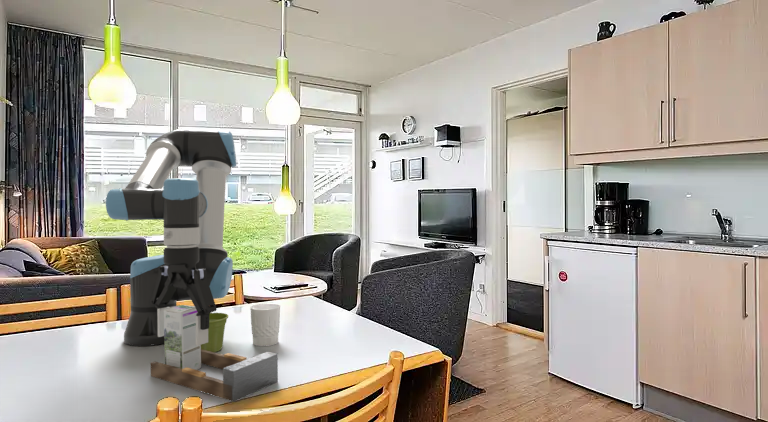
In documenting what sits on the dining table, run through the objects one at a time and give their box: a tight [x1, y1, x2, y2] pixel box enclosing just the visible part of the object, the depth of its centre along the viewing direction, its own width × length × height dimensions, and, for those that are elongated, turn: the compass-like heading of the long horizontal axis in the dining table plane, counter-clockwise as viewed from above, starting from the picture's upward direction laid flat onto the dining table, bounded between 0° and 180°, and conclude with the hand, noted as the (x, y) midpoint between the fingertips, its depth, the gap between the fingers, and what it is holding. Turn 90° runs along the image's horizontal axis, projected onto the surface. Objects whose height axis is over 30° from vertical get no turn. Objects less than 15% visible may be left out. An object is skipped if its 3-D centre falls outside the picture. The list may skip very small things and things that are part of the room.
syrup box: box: [164, 304, 202, 371], centre depth 110 cm, size 6×6×14 cm
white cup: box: [249, 302, 281, 347], centre depth 130 cm, size 8×8×10 cm
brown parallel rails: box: [150, 349, 248, 402], centre depth 105 cm, size 26×12×4 cm, turn 59°
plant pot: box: [201, 312, 229, 353], centre depth 124 cm, size 9×9×9 cm
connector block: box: [222, 351, 279, 402], centre depth 98 cm, size 3×12×6 cm, turn 149°
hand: (182, 339), depth 109 cm, fingers open, 13 cm apart
